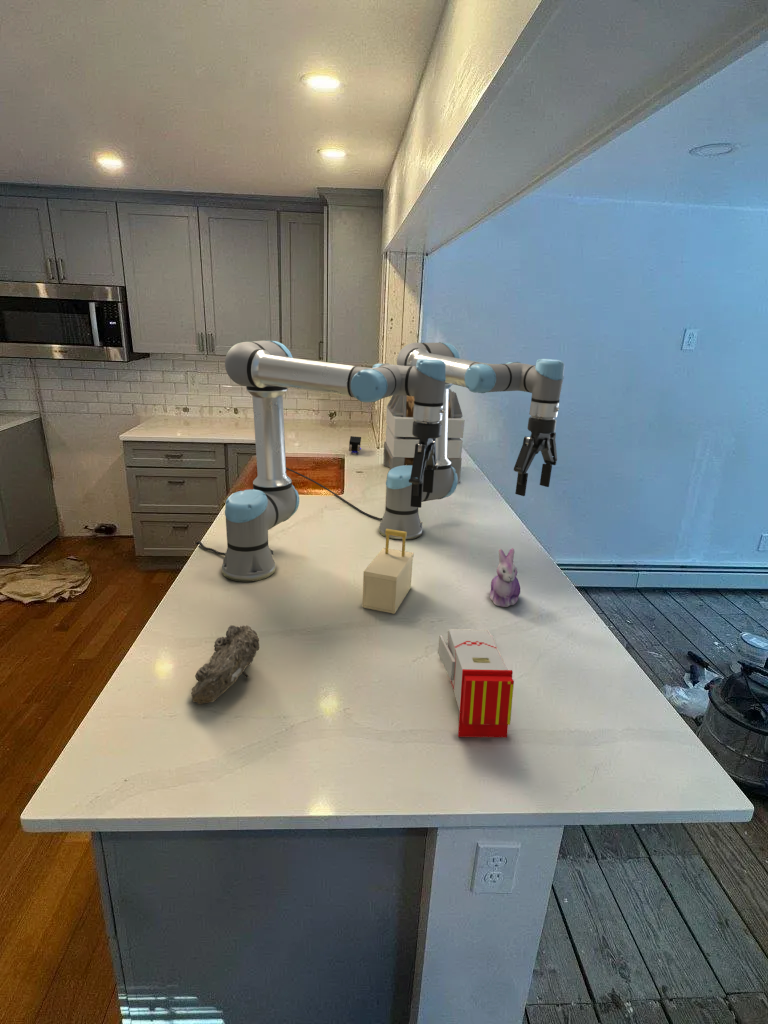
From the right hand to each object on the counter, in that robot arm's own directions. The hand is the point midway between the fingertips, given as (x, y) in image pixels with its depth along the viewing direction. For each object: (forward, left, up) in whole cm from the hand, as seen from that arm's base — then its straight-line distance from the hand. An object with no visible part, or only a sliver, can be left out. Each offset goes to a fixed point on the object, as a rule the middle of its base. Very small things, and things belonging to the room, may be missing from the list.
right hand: (532, 490), depth 164 cm
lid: (-13, -42, -18) cm, 48 cm away
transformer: (-98, +52, -27) cm, 115 cm away
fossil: (-7, -93, -27) cm, 97 cm away
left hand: (-13, -32, -1) cm, 34 cm away
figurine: (+7, -18, -27) cm, 33 cm away
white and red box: (+28, -56, -27) cm, 68 cm away
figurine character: (-148, +50, -27) cm, 158 cm away
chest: (-13, -43, -27) cm, 52 cm away
